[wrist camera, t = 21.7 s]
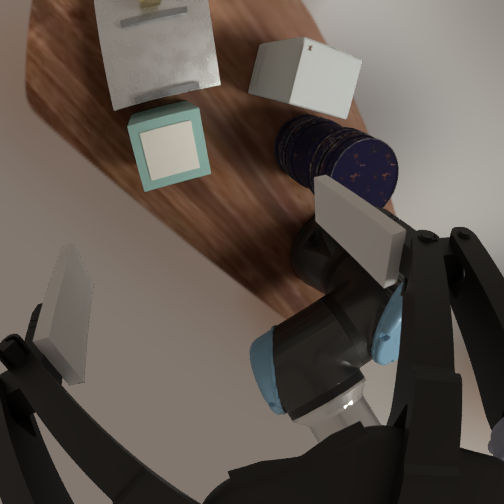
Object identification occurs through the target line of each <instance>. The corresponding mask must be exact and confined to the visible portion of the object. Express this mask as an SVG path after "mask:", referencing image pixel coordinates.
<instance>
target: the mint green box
mask: <svg viewBox="0 0 504 504" xmlns="http://www.w3.org/2000/svg"><path fill="white" fill-rule="evenodd" d="M127 127H128V131H129V135H130V140H131V143H132V147H133V151H134V155H135V159H136V163H137V166H138V170H139V174H140V177H141V181H142V184H143V188H144V191H145V192H146V191H150V190H153V189H156V188H160V187H163V186H167V185H171V184H174V183H178V182H182V181H185V180H189V179H193V178H197V177H200V176H204V175H208V174H211V171H210V165H209V160H208V155H207V149H206V144H205V138H204V133H203V127H202V122H201V116H200V110H199V108H198V107H197V106H195V105H193V104H192V103H190V102H188V101H187V100H186V101H182V102H177V103H173V104H169V105H165V106H161V107H157V108H153V109H149V110H146V111H142V112H139V113H135V114H132V115H131V118H130V121H129V123H128V126H127Z"/></svg>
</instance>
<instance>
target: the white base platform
mask: <svg viewBox="0 0 504 504" xmlns="http://www.w3.org/2000/svg"><path fill="white" fill-rule="evenodd" d="M94 5H95V12H96V20H97V26H98V33H99V39H100V45H101V51H102V56H103V62H104V67H105V72H106V77H107V82H108V87H109V92H110V96H111V101H112V105H113V109H114V111H116V110H119V109H122V108H125V107H129V106H132V105H136V104H139V103H143V102H146V101H150V100H154V99H158V98H162V97H166V96H170V95H174V94H179V93H183V92H188V91H192V90H197V89H202V88H208V87H213V86H219V85H221V83H220V76H219V70H218V63H217V57H216V50H215V44H214V37H213V30H212V24H211V17H210V10H209V4H208V0H161V3H160V5H158V6H153V7H148V8H143V9H140V1H139V0H94Z"/></svg>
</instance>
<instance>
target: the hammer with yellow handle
mask: <svg viewBox="0 0 504 504" xmlns="http://www.w3.org/2000/svg"><path fill="white" fill-rule="evenodd" d="M139 1H140V9H143V8H148V7H153V6H158V5H160V3H161V0H139Z"/></svg>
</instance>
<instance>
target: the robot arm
mask: <svg viewBox="0 0 504 504" xmlns="http://www.w3.org/2000/svg"><path fill="white" fill-rule="evenodd" d="M314 192H315V217H313V218H312V219H311V220H309V221H308V222H307V223H306V224H305V225H304V227H303V228H302V229H301V230H300V232H299V233H298V235H297V237H296V239H295V241H294V243H293V247H292V251H291V262H292V266H293V268H294V270H295V272H296V273H297V275H298V276H299V277H300V279H301V280H302V281H303V282H304V283H306V284H307V285H309V286H311V287H313V288H315V289H317V290H318V291H320V292H322V293H323V294H325V296H323V297H322V298H320V299H319V300H317V301H316V302H314V303H312V304H311V305H309V306H308V307H306V308H305V309H303V310H301V311H300V312H298V313H297V314H295V315H293V316H292V317H290V318H288V319H287V320H285V321H284V322H282V323H280V324H279V325H277V326H276V325H275V326H273V327H272V328H271V330H269V331H268V332H266V333H265V334H263V335H262V336H260V337H259V338H257V339H256V340H255V341H254V342H253V343H252V345H251V347H250V362H251V367H252V370H253V374H254V377H255V380H256V382H257V385H258V387H259V389H260V391H261V394H262V396H263V397H264V399H265V401H266V402H267V403H268V404H269V407H270V409H271V410H272V411H273V412H274V413H276V414H278V415H280V414H286V413H288V414H289V416H290V417H291V419H292V421H293V423H298V424H301V425H306V426H307V427H309V428H310V430H311V431H312V433H313V434H314V436H315V438H316V439H317V441H318V443H319V444H317V445H316V446H315V447H313V448H312V449H310V450H309V451H308V452H306V453H305V454H303V455H302V456H299V457H293V458H286V459H277V460H268V461H261V462H257V463H254V464H251V465H248V466H245V467H241V468H238V469H234V470H231V471H228V474H229V477H230V478H229V479H227V480H226V481H224V482H223V483H221V484H220V485H219V486H217V487H216V488H215V489H214V490H213V491H212V492H211V493H210V494H209V495H208V496H207V498H206V499H205V501H204V502H203V504H504V277H503V276H502V274H501V272H500V271H499V269H498V268H497V266H496V264H495V263H494V261H493V260H492V258H491V257H490V255H489V254H488V252H487V251H486V249H485V248H484V246H483V245H482V243H481V242H480V240H479V239H478V237H477V236H476V235H475V234H474V233H473V232H472V231H471V230H469V229H467V228H465V227H455V228H453V229H452V231H451V235H450V237H447V238H439V236H437V235H436V234H435V233H433V232H431V231H427V230H418V231H416V230H414V229H413V228H411V227H410V226H409V225H407V224H406V223H405V222H403V221H402V220H399V218H398V217H396V216H394V215H393V214H392V213H391V212H389V211H388V210H386V209H383V208H380V207H378V206H376V207H374V206H372V205H371V204H369V203H368V202H367V201H365V200H364V199H362V198H361V197H359V196H358V195H356V194H355V193H353V192H352V191H350V190H349V189H347V188H346V187H344V186H343V185H341V184H340V183H338V182H336V181H335V180H333V179H332V178H330V177H329V176H327V175H323V176H318V177H314ZM93 287H94V284H93V282H92V280H91V278H90V276H89V274H88V272H87V270H86V268H85V266H84V263H83V261H82V259H81V257H80V255H79V253H78V251H77V248H76V246H75V244H74V243H73V244H70V245H67V246H64V247H62V248H61V251H60V253H59V256H58V259H57V262H56V265H55V267H54V270H53V273H52V276H51V279H50V282H49V285H48V288H47V292H46V295H45V298H44V301H43V303H41V304H38V305H37V307H36V308H35V310H34V311H33V313H32V316H31V320H30V323H29V326H28V330H27V333H26V337H25V341H24V340H23V339H22V338H21V337H20V336H19V335H18V334H11V335H9V336H7V337H6V338H5V339H3V341H2V342H1V343H0V361H1V362H2V363H3V364H4V365H5V366H6V368H7V369H8V370H7V371H5V372H4V373H2V374H0V498H1V501H2V503H3V504H74V503H73V501H72V499H71V497H70V496H69V494H68V492H67V490H66V488H65V486H64V484H63V482H62V481H61V478H60V476H59V474H58V472H57V470H56V468H55V466H54V463H53V461H52V459H51V457H50V455H49V452H48V450H47V448H46V445H45V443H44V441H43V438H42V435H41V433H40V430H39V428H38V425H37V422H36V419H35V417H34V414H33V413H35V412H36V413H37V415H38V416H39V417H40V419H41V420H42V421H43V423H44V424H45V426H46V427H47V428H48V430H49V431H50V432H51V434H52V435H53V436H54V437H55V439H56V440H57V441H58V442H59V444H60V445H61V446H62V447H63V449H64V450H65V451H66V452H67V453H68V455H69V456H70V457H71V458H72V459H73V460H74V461H75V463H76V464H77V465H78V466H79V467H80V468H81V469H82V470H83V471H84V472H85V474H86V475H87V476H88V477H89V478H90V479H91V480H92V481H93V482H94V483H95V484H96V485H97V486H98V487H99V488H100V489H101V490H102V491H103V492H104V493H105V494H106V495H107V496H108V497H109V498H110V499H111V500H112V502H113V504H200V503H199V502H197V501H196V500H194V499H192V498H190V497H189V496H188V495H186V494H185V493H183V492H181V491H180V490H178V489H177V488H176V487H174V486H173V485H171V484H170V483H169V482H167V481H166V480H164V479H163V478H162V477H160V476H159V475H158V474H156V473H155V472H154V471H152V470H151V469H150V468H148V467H147V466H146V465H144V464H143V463H142V462H141V461H140V460H138V459H137V458H136V457H135V456H133V455H132V454H131V453H130V452H129V451H128V450H126V449H125V448H124V447H123V446H122V445H121V444H120V443H118V442H117V441H116V440H115V439H114V438H113V437H112V436H111V435H109V434H108V433H107V432H106V431H105V430H104V429H103V428H102V427H101V426H100V425H99V424H98V423H97V422H96V421H95V420H94V419H93V418H92V417H91V416H90V415H89V414H88V413H87V412H86V411H85V410H84V409H83V408H82V407H81V406H80V405H79V404H78V403H77V402H76V401H75V400H74V399H73V397H72V396H71V395H70V394H69V393H68V392H67V391H66V390H65V389H64V388H63V387H62V385H61V384H62V378H63V379H64V380H65V381H66V382H67V383H68V384H69V385H75V384H80V383H84V382H85V364H86V363H85V362H86V349H87V338H88V327H89V318H90V310H91V301H92V294H93ZM450 305H451V307H452V310H453V313H454V315H455V318H456V320H457V323H458V326H459V328H460V331H461V334H462V337H463V340H464V343H465V345H466V349H467V351H468V354H469V358H470V361H471V364H472V367H473V371H474V374H475V377H476V381H477V384H478V388H479V392H480V396H481V399H482V403H483V407H484V410H485V414H486V417H487V420H488V422H489V425H490V428H491V430H492V433H491V440H490V441H489V444H488V450H489V452H490V453H492V454H493V456H490V455H486V454H482V453H478V452H474V451H471V450H467V449H463V448H460V437H461V421H462V378H461V375H460V374H456V373H455V369H454V343H453V328H452V317H451V307H450ZM372 359H373V360H374V362H376V363H378V364H380V365H386V364H389V363H390V362H394V361H395V360H397V359H398V365H397V373H396V381H395V388H394V395H393V402H392V408H391V412H390V416H389V419H388V422H387V425H386V426H384V425H381V424H380V422H379V420H378V419H377V417H376V416H375V414H374V412H373V411H372V409H371V407H370V406H369V404H368V403H367V401H366V400H365V398H364V396H363V389H364V384H365V377H364V376H363V374H362V372H361V371H360V367H362V366H363V365H364V364H366V363H367V362H369V361H370V360H372Z"/></svg>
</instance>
